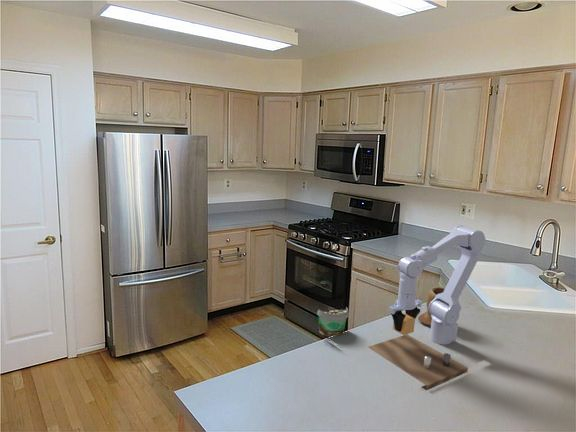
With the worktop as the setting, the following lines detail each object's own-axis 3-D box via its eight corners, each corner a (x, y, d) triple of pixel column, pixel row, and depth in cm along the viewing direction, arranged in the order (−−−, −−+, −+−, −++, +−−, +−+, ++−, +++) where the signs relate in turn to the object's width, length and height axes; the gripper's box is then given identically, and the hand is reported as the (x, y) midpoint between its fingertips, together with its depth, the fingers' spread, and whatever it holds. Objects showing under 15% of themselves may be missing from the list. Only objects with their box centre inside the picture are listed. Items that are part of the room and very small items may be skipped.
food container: (321, 342, 139) (322, 316, 138) (315, 334, 145) (317, 309, 144) (352, 339, 143) (354, 313, 141) (345, 331, 149) (347, 306, 147)
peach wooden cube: (402, 326, 140) (403, 313, 139) (413, 332, 136) (415, 318, 135) (392, 329, 137) (394, 315, 136) (403, 335, 133) (405, 321, 132)
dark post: (444, 366, 127) (446, 352, 126) (450, 369, 126) (451, 355, 125) (440, 368, 126) (442, 354, 125) (446, 371, 125) (448, 357, 124)
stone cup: (440, 333, 151) (444, 296, 148) (413, 321, 160) (417, 287, 157) (459, 323, 160) (464, 289, 158) (433, 313, 169) (437, 280, 167)
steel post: (425, 369, 125) (427, 355, 124) (430, 372, 124) (432, 358, 123) (421, 371, 124) (423, 356, 123) (426, 374, 122) (428, 359, 122)
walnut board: (406, 338, 146) (406, 334, 145) (467, 372, 125) (467, 367, 125) (367, 350, 135) (367, 346, 135) (426, 390, 114) (427, 385, 114)
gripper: (412, 285, 141) (408, 319, 143) (383, 291, 133) (380, 328, 136) (428, 291, 135) (424, 327, 138) (399, 298, 127) (395, 337, 130)
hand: (403, 328), depth 136 cm, fingers closed on peach wooden cube, 5 cm apart
